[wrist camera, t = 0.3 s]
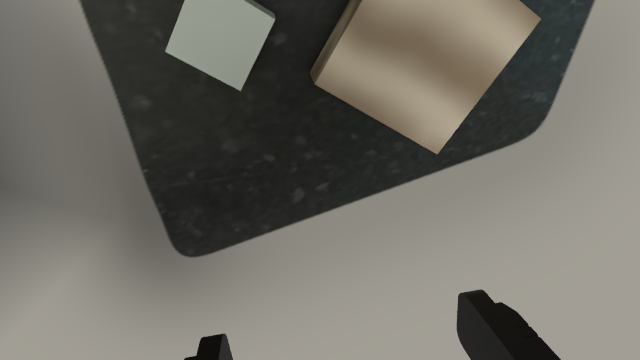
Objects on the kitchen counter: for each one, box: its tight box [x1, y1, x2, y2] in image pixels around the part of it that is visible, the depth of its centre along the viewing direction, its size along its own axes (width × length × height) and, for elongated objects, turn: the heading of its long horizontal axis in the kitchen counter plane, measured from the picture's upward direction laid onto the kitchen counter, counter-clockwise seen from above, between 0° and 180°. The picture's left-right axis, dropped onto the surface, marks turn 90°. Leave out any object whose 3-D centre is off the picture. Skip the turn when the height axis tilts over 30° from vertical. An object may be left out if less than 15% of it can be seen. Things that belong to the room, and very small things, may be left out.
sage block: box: [165, 0, 275, 91], centre depth 24 cm, size 5×5×6 cm
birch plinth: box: [310, 0, 541, 154], centre depth 27 cm, size 12×12×4 cm
